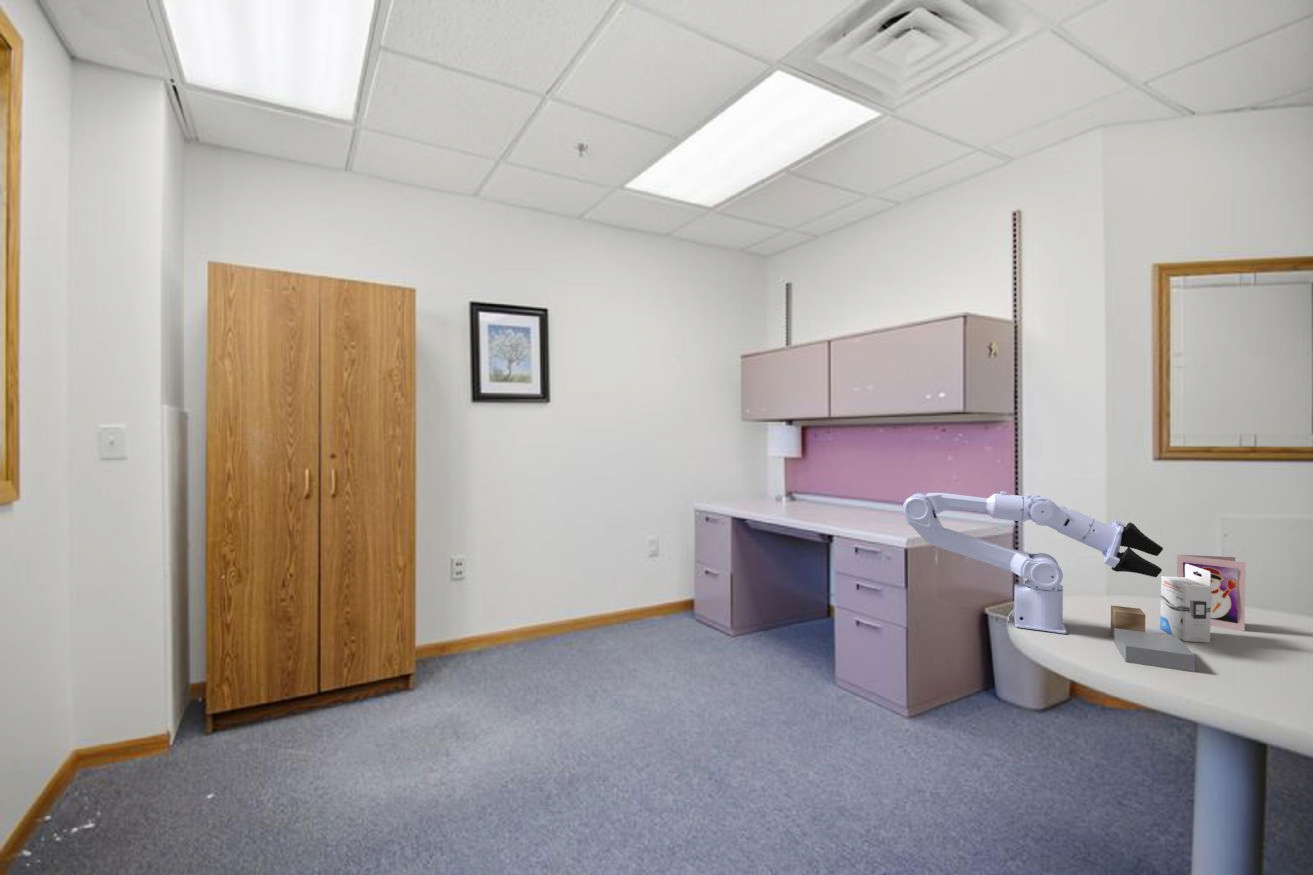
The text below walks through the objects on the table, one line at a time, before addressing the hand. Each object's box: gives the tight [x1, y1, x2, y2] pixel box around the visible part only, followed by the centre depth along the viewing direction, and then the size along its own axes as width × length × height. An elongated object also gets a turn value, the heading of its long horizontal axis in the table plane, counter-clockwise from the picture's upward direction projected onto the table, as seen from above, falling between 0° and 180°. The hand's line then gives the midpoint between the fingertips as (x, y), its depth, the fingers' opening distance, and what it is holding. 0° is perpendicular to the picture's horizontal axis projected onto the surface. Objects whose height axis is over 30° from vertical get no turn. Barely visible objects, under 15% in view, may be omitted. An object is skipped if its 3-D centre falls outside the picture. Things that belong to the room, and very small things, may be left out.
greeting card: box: [1176, 554, 1246, 632], centre depth 139 cm, size 11×7×15 cm, turn 43°
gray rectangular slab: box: [1113, 628, 1196, 673], centre depth 117 cm, size 10×12×3 cm
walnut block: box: [1110, 604, 1146, 638], centre depth 128 cm, size 5×5×6 cm
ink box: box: [1159, 564, 1211, 644], centre depth 130 cm, size 9×5×15 cm, turn 168°
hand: (1159, 562), depth 126 cm, fingers open, 7 cm apart
